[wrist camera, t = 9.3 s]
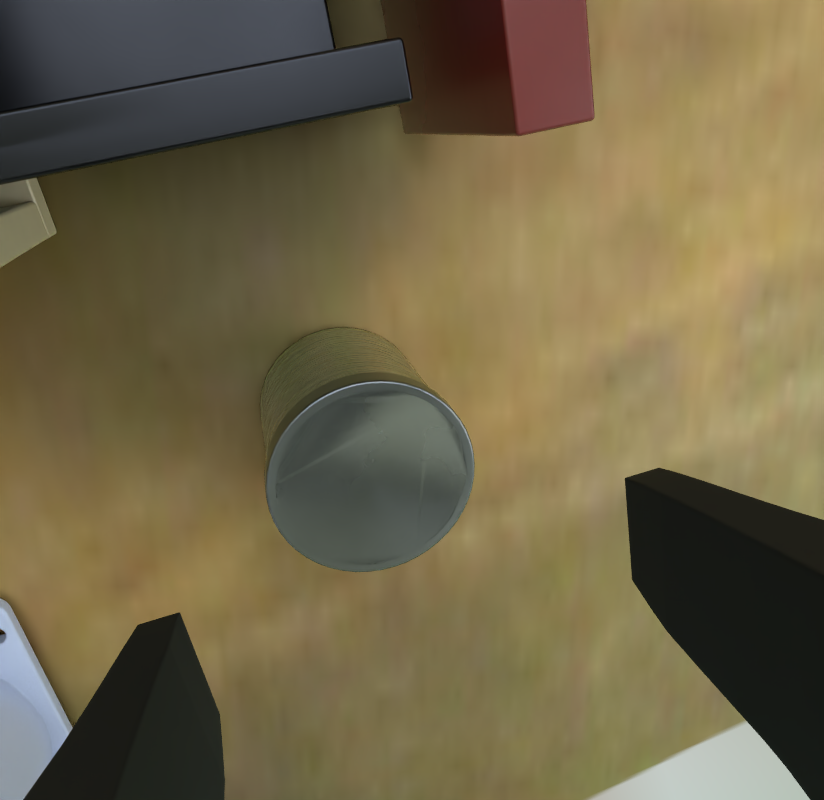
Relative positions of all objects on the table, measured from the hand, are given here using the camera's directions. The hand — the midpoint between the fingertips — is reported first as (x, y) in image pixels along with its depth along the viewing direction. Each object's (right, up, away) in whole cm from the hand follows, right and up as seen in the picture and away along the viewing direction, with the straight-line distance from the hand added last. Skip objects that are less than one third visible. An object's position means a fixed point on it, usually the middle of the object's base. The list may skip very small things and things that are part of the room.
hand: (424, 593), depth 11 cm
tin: (-2, +3, +8) cm, 9 cm away
